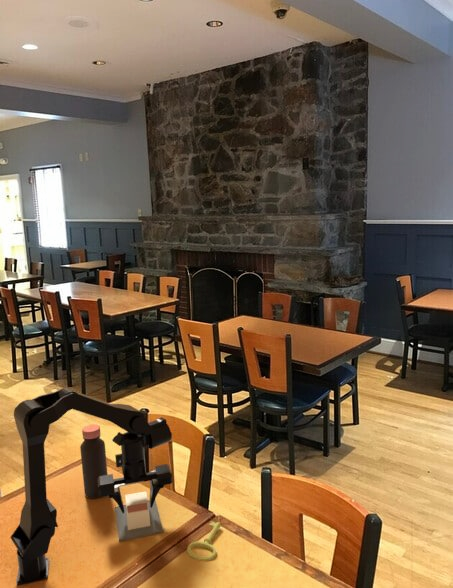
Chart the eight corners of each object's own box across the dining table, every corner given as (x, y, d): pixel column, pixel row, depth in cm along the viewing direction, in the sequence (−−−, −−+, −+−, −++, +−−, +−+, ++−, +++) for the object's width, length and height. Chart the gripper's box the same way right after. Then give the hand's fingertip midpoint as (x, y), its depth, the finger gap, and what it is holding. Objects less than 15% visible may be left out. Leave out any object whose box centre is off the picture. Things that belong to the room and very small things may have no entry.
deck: (147, 506, 133) (146, 490, 132) (150, 525, 125) (149, 509, 124) (126, 510, 132) (125, 494, 131) (128, 530, 124) (126, 513, 123)
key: (221, 527, 125) (221, 520, 124) (215, 563, 113) (215, 554, 112) (193, 526, 126) (193, 519, 125) (184, 561, 114) (184, 553, 113)
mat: (163, 532, 123) (163, 529, 123) (119, 541, 120) (118, 539, 120) (155, 500, 137) (155, 498, 136) (115, 508, 134) (114, 506, 133)
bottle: (99, 483, 146) (94, 420, 143) (113, 491, 142) (108, 426, 138) (80, 493, 141) (73, 429, 138) (93, 502, 137) (87, 435, 133)
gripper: (164, 434, 135) (167, 486, 138) (94, 446, 130) (99, 499, 133) (171, 453, 125) (174, 509, 128) (96, 467, 120) (101, 524, 122)
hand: (137, 509), depth 128 cm, fingers open, 7 cm apart
